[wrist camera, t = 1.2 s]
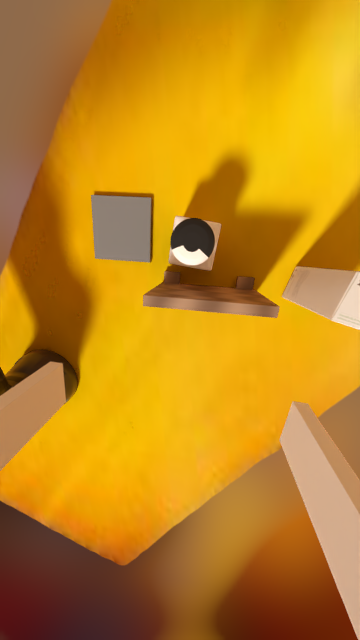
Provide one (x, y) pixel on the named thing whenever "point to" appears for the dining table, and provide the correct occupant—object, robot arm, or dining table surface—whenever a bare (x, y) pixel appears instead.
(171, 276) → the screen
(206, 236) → the medicine bottle
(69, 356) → the dining table surface
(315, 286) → the skincare box
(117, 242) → the coaster
